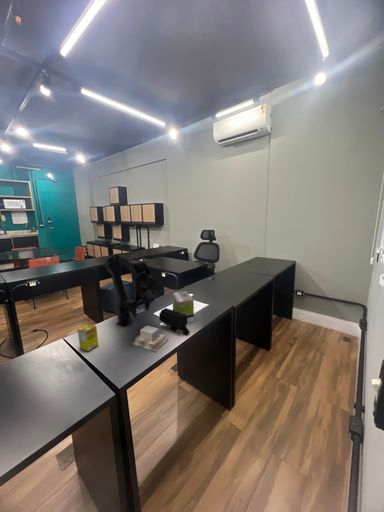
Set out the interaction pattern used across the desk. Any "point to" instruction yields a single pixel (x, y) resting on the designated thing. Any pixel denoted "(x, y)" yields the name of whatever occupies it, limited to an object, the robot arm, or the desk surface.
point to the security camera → (174, 320)
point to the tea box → (183, 304)
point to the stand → (150, 343)
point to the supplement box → (88, 337)
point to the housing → (150, 333)
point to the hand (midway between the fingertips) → (141, 313)
